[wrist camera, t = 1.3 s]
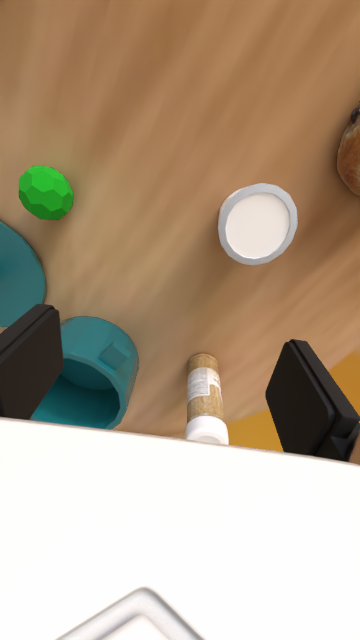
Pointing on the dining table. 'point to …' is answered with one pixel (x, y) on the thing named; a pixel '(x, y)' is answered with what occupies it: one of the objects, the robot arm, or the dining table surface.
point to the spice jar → (204, 401)
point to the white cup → (257, 223)
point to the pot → (91, 376)
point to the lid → (18, 277)
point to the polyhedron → (45, 193)
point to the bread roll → (350, 154)
